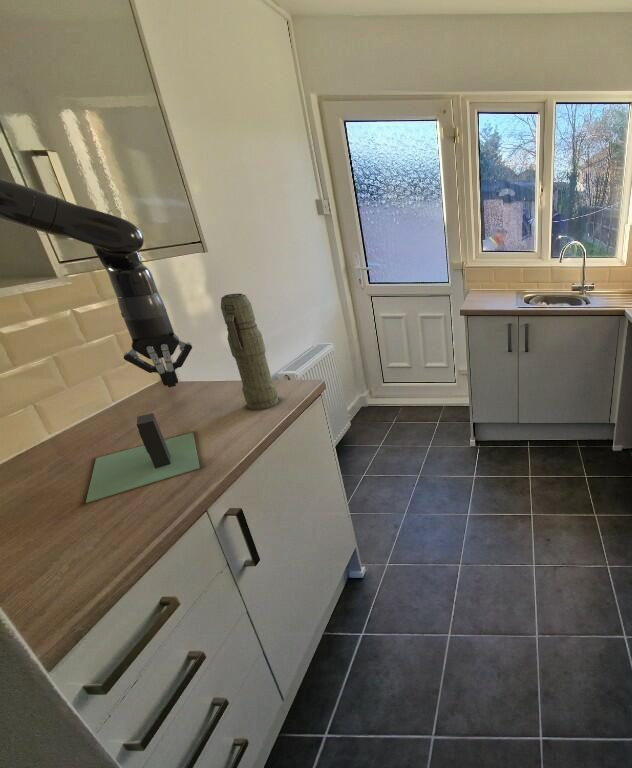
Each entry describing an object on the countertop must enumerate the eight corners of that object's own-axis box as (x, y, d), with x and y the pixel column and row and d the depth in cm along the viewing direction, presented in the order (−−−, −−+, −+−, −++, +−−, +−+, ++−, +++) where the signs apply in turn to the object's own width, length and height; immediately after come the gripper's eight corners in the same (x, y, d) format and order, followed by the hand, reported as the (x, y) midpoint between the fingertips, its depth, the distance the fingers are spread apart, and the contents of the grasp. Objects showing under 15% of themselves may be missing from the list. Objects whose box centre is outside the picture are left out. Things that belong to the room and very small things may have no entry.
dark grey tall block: (153, 469, 99) (135, 425, 94) (153, 459, 103) (135, 416, 98) (170, 464, 101) (153, 420, 96) (170, 455, 105) (153, 412, 100)
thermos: (242, 414, 126) (206, 300, 112) (254, 398, 136) (223, 292, 123) (273, 411, 128) (243, 298, 114) (283, 395, 138) (256, 290, 124)
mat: (86, 504, 88) (85, 502, 88) (96, 460, 104) (95, 458, 104) (200, 469, 100) (199, 467, 99) (193, 434, 115) (193, 432, 115)
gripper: (181, 307, 98) (204, 374, 105) (106, 316, 91) (136, 388, 97) (183, 312, 93) (207, 383, 100) (104, 323, 85) (135, 398, 92)
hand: (172, 385), depth 98 cm, fingers closed
